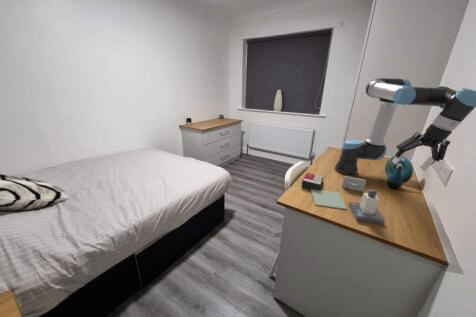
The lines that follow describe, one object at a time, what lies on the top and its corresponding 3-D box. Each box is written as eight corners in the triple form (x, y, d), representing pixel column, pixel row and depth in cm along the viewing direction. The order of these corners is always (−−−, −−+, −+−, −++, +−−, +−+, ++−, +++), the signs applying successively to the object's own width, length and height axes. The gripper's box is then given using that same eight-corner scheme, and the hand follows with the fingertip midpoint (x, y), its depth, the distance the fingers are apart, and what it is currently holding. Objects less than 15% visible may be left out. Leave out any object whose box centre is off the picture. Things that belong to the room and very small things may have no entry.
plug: (357, 210, 102) (365, 187, 97) (368, 212, 102) (376, 188, 96) (361, 216, 98) (369, 192, 92) (372, 218, 97) (381, 194, 92)
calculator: (323, 176, 130) (321, 184, 117) (322, 182, 131) (319, 190, 118) (306, 172, 134) (302, 179, 122) (305, 178, 136) (301, 185, 123)
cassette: (341, 187, 124) (344, 176, 121) (341, 186, 126) (344, 175, 123) (363, 192, 120) (366, 181, 117) (362, 190, 122) (366, 179, 119)
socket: (348, 205, 106) (349, 201, 105) (372, 209, 104) (374, 205, 103) (356, 220, 95) (357, 216, 94) (383, 224, 93) (385, 220, 92)
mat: (310, 189, 120) (310, 189, 120) (338, 193, 117) (338, 192, 117) (314, 205, 106) (315, 204, 105) (346, 209, 103) (347, 208, 103)
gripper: (417, 123, 80) (386, 164, 92) (479, 138, 79) (439, 177, 91) (407, 116, 86) (379, 155, 98) (464, 129, 85) (428, 167, 98)
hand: (408, 166), depth 95 cm, fingers open, 13 cm apart
